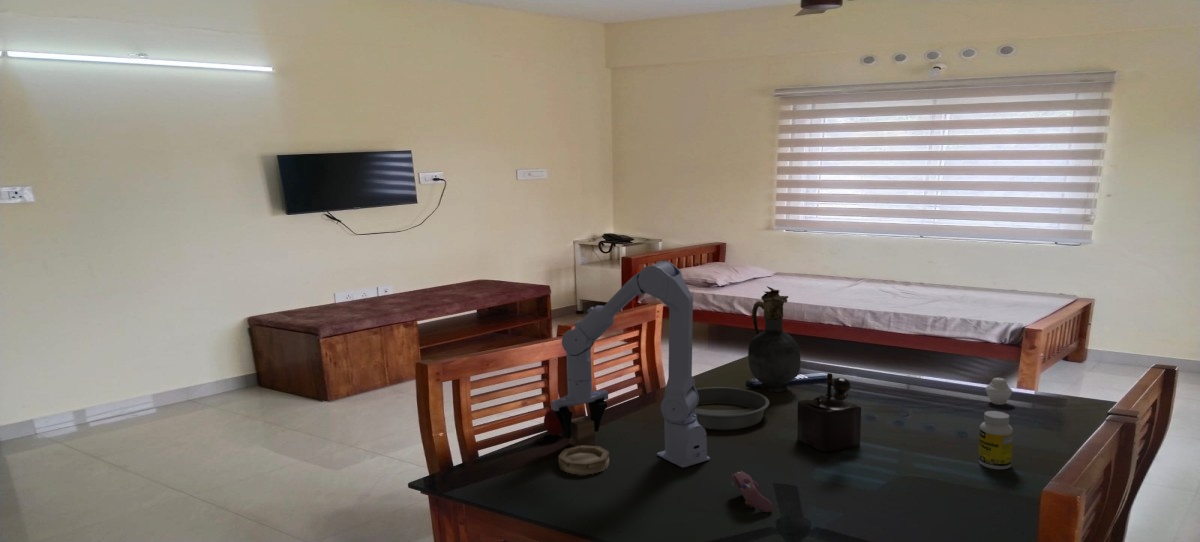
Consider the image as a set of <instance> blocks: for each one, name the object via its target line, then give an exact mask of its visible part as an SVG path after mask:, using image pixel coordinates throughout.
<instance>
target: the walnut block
mask: <svg viewBox="0 0 1200 542" xmlns="http://www.w3.org/2000/svg"><path fill="white" fill-rule="evenodd" d="M595 433H596V432H595V429H594V421H593V420H591V418H588V417H587V416H584V415H583V416H580V417H576V418H572V419H571V438H570V439H568V444H569V443H570V444H572V445H574V446H581V445H587V446H590V445H594V444H595V445H596V437H595V436H596V434H595ZM570 444H569V445H570Z"/></svg>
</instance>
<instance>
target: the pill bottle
mask: <svg viewBox="0 0 1200 542" xmlns="http://www.w3.org/2000/svg"><path fill="white" fill-rule="evenodd" d="M983 415H984V416H983V420H984V421H983V422H981V424H980V425H979V438H978V462H979V464H980V465H981V466H983V467H985V468H988V469H991V470H999V471H1000V470H1006V469H1009V468H1011V467H1012V461H1013V460H1012V457H1013V440H1014V439H1013V438H1014V429H1013V427H1012V426H1011V425H1010V424H1009V423H1010V415H1009V414H1008V413H1006V412H1003V411H999V410H998V411H997V410H987V411H985V412H984V414H983Z"/></svg>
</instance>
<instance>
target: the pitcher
mask: <svg viewBox="0 0 1200 542" xmlns="http://www.w3.org/2000/svg"><path fill="white" fill-rule="evenodd" d="M766 288H768V289H769V291H763V292H764V294H763V295H762V296H761V297H760V299H761V300H759V301H756V302H755V303H754V304H753V307H752V309H751V319H752V323H753V328H754V331H755V334H756V335H755V336H754V337H753V338H752V339H750V342H749V346H748V350H747V351H748V352H747V357H748V358H747V359H748V360H747V361H748V367H749V369H750V372H751V374H752V376H753V377H754V378H755V379H756V380H757V381H758V382H759V383H761V384H760V389H761V390H763V391H766V392H768V393H782V392H786V391H787V390H788V386H787V385H786V384H788V383H790V382H791V381H793V380H795V378H796V377H798V375H799V373H800V368H801V360H802V359H801V353H800V347H799V345H798V343H797V341H796V340H795V339H794V338H793V336H791V335H790V333H787V332H784V331H783V329H784V328H783V322H784V320H783V318H784V303H787V302H788V298H789V296H788V295H780V292H781V290H780V289H774V288H773V287H770V286H766ZM759 308H761V310H763V318H764V331H762V332H759V328H758V327H759V326H758V319H757V318H758V317H757V314H758V309H759Z"/></svg>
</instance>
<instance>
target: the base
mask: <svg viewBox="0 0 1200 542" xmlns="http://www.w3.org/2000/svg"><path fill="white" fill-rule="evenodd" d="M557 460H558V464H559V465H558V466H559V467H558V468H559V469H560V470H561V471H562V470H563V471H565V472H567V473H566V474H568V473H571V474H570V475H572V474H577V475H576V476H588V475H587V474H592V475H595V474H594V473H597V474H599V473H598V472H600V473H602V472H604V471H606V470H607V469H608V468H609V467H608V466H610V451H609V450H607V449H605V448H603V447H602V446H598V445H595V446H587V445H581V446H575V447H573V446H571V447H568V448H564V449H562V451H561V452H560V453H559V454H558V458H557ZM605 469H606V470H605ZM563 471H562V472H563ZM601 471H602V472H601ZM565 472H564V473H565ZM578 474H579V475H578Z"/></svg>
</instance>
